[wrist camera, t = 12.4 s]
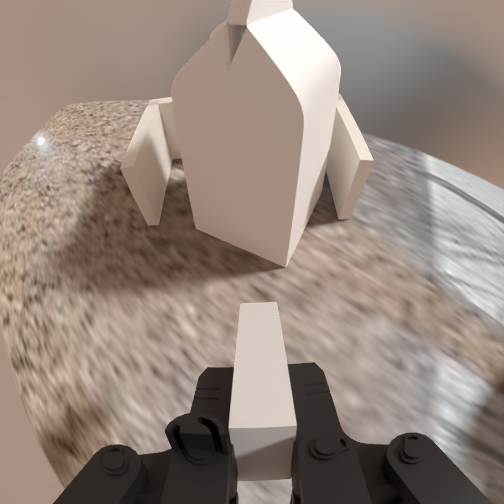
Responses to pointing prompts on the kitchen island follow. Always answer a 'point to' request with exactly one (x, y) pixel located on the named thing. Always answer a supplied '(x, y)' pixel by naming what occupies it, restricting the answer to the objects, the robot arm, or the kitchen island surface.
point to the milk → (257, 126)
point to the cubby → (167, 148)
